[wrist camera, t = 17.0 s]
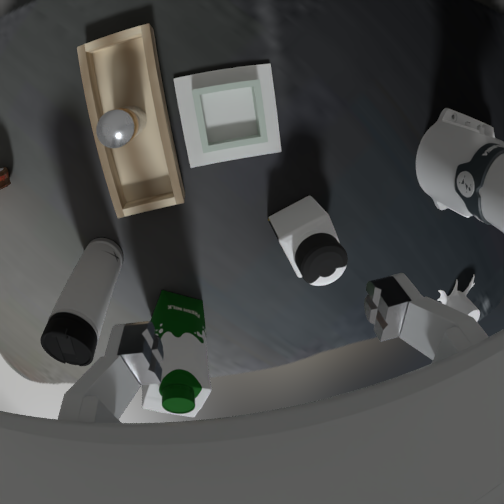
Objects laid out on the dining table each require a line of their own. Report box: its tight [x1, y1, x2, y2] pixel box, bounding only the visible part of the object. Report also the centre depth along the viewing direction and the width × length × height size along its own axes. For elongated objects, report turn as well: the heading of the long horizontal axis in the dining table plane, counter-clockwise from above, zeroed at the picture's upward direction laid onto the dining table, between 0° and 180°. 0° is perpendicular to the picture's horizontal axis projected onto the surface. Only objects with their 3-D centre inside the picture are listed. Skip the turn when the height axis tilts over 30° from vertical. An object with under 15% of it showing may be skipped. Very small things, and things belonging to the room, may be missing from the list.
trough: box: [77, 23, 185, 218], centre depth 32 cm, size 9×23×4 cm, turn 8°
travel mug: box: [41, 238, 123, 366], centre depth 34 cm, size 6×7×20 cm
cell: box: [96, 106, 147, 148], centre depth 29 cm, size 4×4×8 cm
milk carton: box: [142, 290, 212, 417], centre depth 41 cm, size 9×9×20 cm
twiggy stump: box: [437, 275, 480, 322], centre depth 60 cm, size 20×19×8 cm
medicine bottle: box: [268, 196, 348, 286], centre depth 40 cm, size 7×7×12 cm
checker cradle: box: [174, 64, 281, 168], centre depth 34 cm, size 12×12×3 cm
